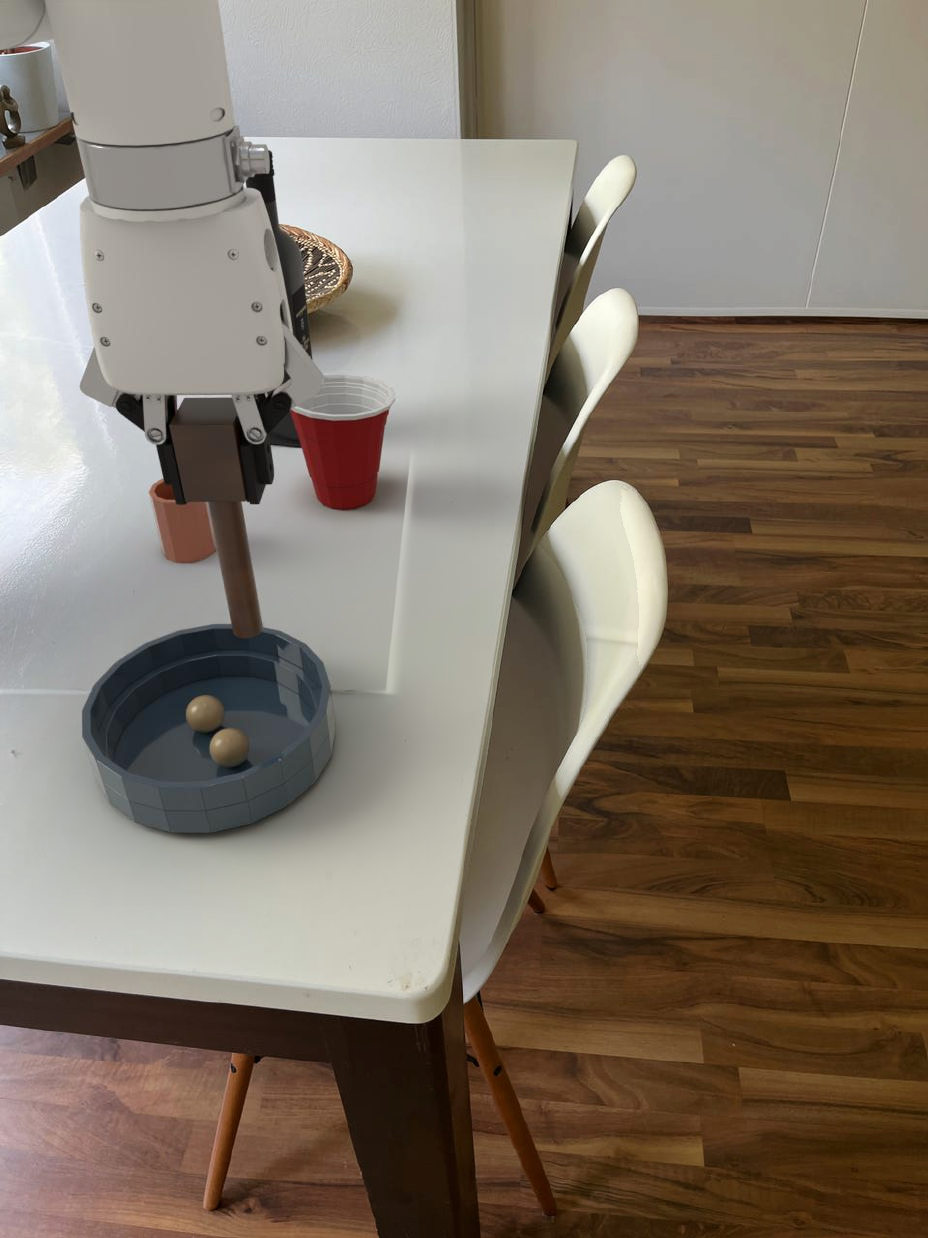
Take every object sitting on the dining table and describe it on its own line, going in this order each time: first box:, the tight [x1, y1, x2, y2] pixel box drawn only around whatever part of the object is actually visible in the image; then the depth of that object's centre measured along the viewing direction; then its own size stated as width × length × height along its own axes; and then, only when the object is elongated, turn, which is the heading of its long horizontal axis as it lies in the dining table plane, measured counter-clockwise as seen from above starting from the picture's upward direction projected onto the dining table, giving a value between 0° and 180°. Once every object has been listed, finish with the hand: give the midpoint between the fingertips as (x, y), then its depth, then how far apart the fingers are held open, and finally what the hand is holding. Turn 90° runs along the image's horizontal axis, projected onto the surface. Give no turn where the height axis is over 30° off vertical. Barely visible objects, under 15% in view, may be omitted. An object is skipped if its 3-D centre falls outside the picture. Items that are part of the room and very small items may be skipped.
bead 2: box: [210, 728, 250, 768], centre depth 71 cm, size 3×3×3 cm
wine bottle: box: [245, 149, 314, 447], centre depth 104 cm, size 6×6×30 cm
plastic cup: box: [290, 373, 397, 511], centre depth 98 cm, size 11×11×12 cm
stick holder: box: [148, 478, 217, 564], centre depth 92 cm, size 5×5×7 cm
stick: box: [169, 396, 264, 638], centre depth 62 cm, size 4×4×16 cm
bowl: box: [81, 623, 336, 834], centre depth 72 cm, size 17×17×5 cm
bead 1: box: [186, 695, 225, 733], centre depth 73 cm, size 3×3×3 cm
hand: (222, 490), depth 60 cm, fingers closed on stick, 3 cm apart
